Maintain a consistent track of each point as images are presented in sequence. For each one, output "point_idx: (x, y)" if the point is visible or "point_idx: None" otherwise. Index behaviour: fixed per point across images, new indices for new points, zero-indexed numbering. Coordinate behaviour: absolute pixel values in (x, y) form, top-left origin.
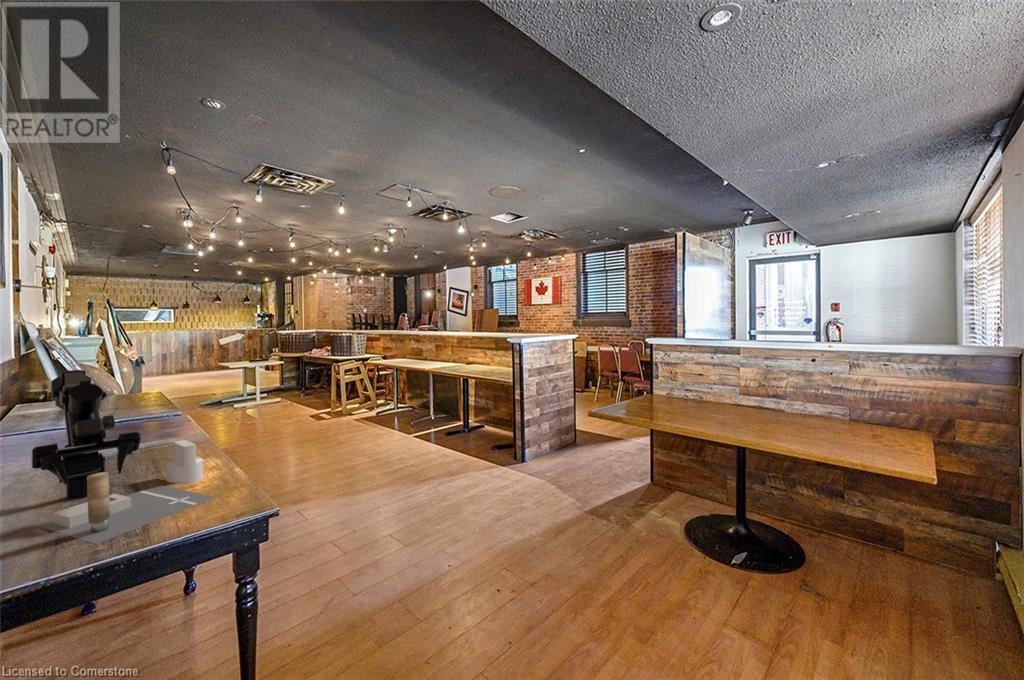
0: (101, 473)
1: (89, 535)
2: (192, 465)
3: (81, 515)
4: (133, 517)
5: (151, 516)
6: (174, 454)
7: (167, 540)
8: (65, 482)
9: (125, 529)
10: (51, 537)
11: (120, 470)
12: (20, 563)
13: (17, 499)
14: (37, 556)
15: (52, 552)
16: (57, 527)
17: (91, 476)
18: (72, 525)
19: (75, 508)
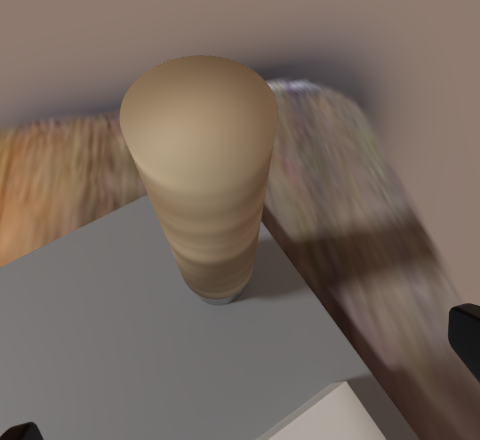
0: (175, 143)
1: None
2: None
3: (304, 411)
4: (108, 343)
5: (48, 304)
6: None
7: (54, 118)
8: (463, 306)
9: (141, 223)
10: (380, 379)
11: (14, 428)
12: (385, 196)
13: None
14: (359, 218)
15: (327, 223)
16: (387, 433)
17: (243, 96)
18: (325, 389)
19: None
